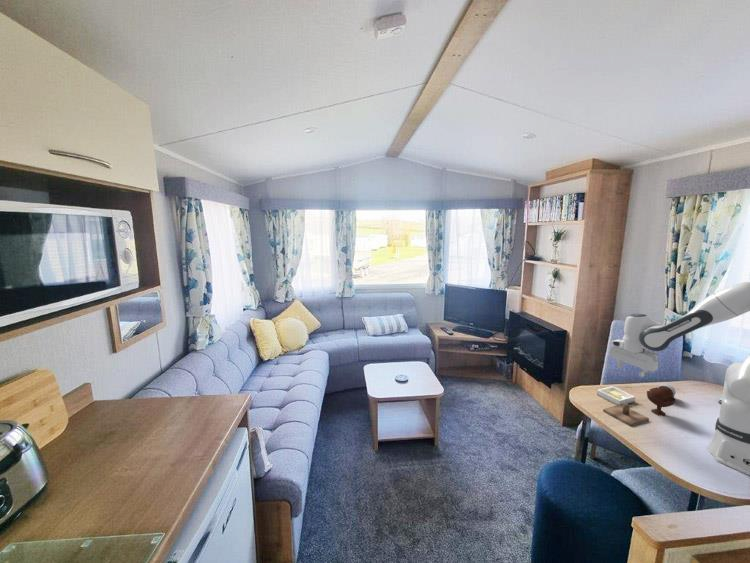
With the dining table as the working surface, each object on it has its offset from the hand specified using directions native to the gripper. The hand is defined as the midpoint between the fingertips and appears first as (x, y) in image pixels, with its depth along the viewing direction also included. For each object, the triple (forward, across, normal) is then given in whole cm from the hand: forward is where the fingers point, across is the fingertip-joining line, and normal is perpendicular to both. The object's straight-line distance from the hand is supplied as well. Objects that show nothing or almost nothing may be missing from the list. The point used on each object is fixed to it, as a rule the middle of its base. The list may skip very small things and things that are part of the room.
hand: (630, 372), depth 152 cm
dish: (+23, +12, -10) cm, 28 cm away
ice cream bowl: (+23, -5, -16) cm, 28 cm away
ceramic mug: (+23, +4, -35) cm, 42 cm away
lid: (+22, -1, +2) cm, 22 cm away
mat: (+23, -1, +2) cm, 23 cm away
